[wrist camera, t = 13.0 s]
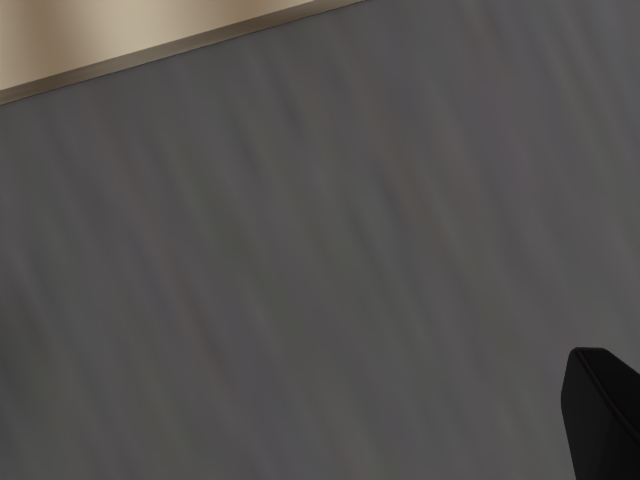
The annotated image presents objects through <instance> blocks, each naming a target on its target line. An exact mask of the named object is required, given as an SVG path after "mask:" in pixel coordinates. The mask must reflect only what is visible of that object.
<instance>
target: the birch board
mask: <svg viewBox="0 0 640 480" xmlns="http://www.w3.org/2000/svg"><path fill="white" fill-rule="evenodd" d="M360 1H364V0H0V105H2V104H5V103H9V102H12V101H16V100H19V99H23V98H26V97H30V96H33V95H37V94H40V93H43V92H47V91H50V90H54V89H57V88H61V87H64V86H68V85H71V84H75V83H78V82H82V81H85V80H89V79H92V78H96V77H99V76H103V75H106V74H110V73H113V72H117V71H120V70H124V69H127V68H131V67H134V66H138V65H141V64H145V63H148V62H151V61H155V60H158V59H162V58H165V57H169V56H172V55H176V54H179V53H183V52H186V51H190V50H193V49H197V48H200V47H204V46H207V45H211V44H214V43H218V42H221V41H225V40H228V39H232V38H235V37H239V36H242V35H246V34H249V33H253V32H256V31H259V30H263V29H266V28H270V27H273V26H277V25H280V24H284V23H287V22H291V21H294V20H298V19H301V18H305V17H308V16H312V15H315V14H319V13H322V12H326V11H329V10H333V9H336V8H340V7H343V6H347V5H350V4H354V3H357V2H360Z"/></svg>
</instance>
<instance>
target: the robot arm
mask: <svg viewBox="0 0 640 480" xmlns="http://www.w3.org/2000/svg"><path fill="white" fill-rule="evenodd" d="M561 409H562V415H563V420H564V424H565V429H566V434H567V438H568V443H569V448H570V453H571V457H572V462H573V467H574V471H575V476H576V480H640V374H639V373H637V372H636V371H635V370H634V369H632V368H631V367H630V366H628V365H627V364H626V363H624V362H623V361H622V360H620V359H619V358H618V357H616V356H615V355H614V354H612V353H611V352H610V351H608V350H606V349H604V348H590V347H576V348H574V349H573V350H571V352H570V354H569V357H568V361H567V366H566V371H565V376H564V381H563V386H562V391H561Z"/></svg>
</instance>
